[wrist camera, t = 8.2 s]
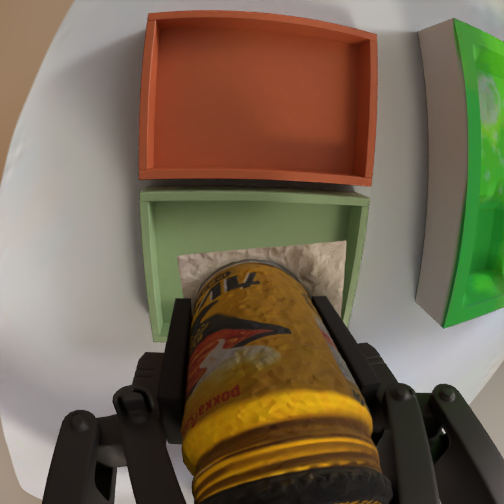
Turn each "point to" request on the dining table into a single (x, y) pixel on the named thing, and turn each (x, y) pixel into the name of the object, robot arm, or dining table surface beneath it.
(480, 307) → the tray
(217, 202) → the green tray
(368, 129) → the terracotta tray
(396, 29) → the dining table surface
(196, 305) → the condiment
